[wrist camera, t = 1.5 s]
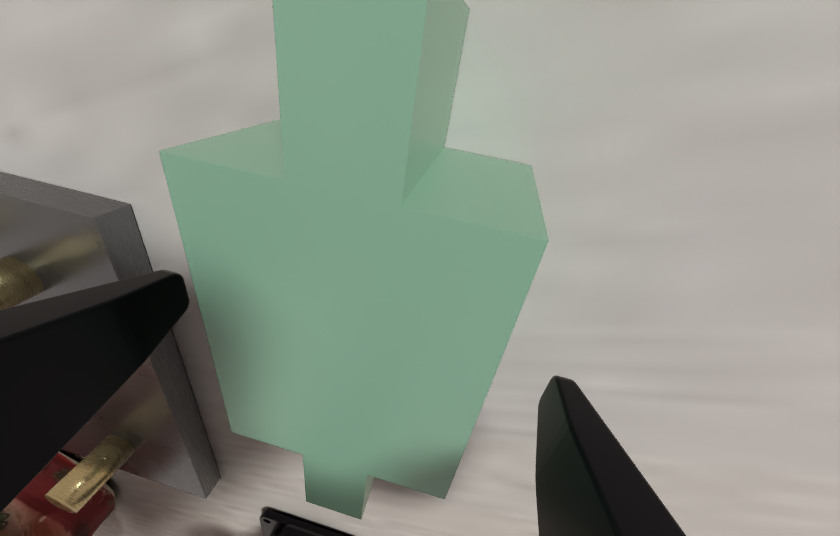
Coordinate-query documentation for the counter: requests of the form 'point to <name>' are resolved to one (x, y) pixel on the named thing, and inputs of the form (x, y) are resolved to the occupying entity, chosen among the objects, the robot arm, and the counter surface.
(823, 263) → the counter surface
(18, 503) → the sculpted terracotta mug
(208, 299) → the mint green pegged block
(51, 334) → the robot arm
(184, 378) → the plate
